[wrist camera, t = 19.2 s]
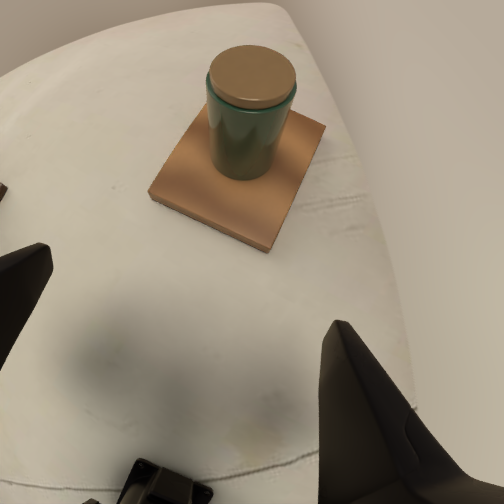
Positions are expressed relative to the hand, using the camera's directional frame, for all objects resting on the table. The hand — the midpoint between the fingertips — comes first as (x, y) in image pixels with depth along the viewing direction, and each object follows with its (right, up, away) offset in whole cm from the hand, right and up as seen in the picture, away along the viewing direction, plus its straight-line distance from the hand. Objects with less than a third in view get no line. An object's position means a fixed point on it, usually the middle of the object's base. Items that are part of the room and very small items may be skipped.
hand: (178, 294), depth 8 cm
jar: (+1, +9, +15) cm, 17 cm away
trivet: (+1, +8, +16) cm, 18 cm away
